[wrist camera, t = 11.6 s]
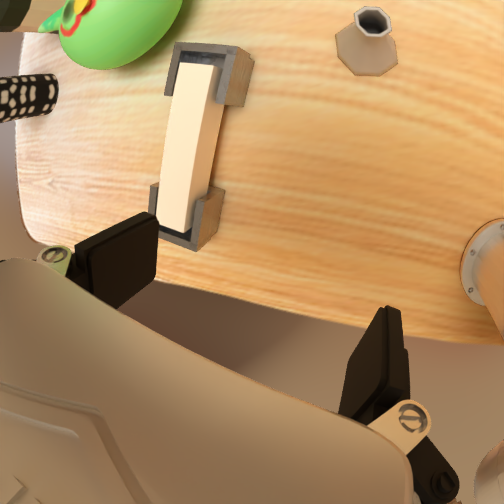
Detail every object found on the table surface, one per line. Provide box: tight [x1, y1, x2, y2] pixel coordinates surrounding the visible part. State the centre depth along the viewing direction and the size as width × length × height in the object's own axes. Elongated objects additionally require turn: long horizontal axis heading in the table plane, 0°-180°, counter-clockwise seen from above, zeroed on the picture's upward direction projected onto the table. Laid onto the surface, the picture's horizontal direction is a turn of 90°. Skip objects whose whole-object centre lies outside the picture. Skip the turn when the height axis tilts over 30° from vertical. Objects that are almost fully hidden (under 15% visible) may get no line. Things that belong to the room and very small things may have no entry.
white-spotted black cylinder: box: [0, 74, 58, 123], centre depth 31 cm, size 8×8×20 cm
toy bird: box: [38, 0, 183, 70], centre depth 24 cm, size 18×17×15 cm
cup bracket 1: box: [164, 42, 254, 107], centre depth 29 cm, size 8×6×6 cm
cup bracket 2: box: [148, 182, 225, 252], centre depth 38 cm, size 8×6×6 cm
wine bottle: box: [0, 0, 66, 34], centre depth 19 cm, size 8×8×30 cm
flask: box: [335, 6, 398, 76], centre depth 21 cm, size 7×7×10 cm
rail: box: [156, 62, 224, 233], centre depth 32 cm, size 4×19×5 cm, turn 167°
